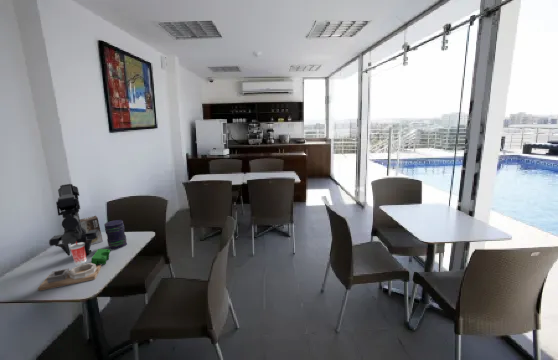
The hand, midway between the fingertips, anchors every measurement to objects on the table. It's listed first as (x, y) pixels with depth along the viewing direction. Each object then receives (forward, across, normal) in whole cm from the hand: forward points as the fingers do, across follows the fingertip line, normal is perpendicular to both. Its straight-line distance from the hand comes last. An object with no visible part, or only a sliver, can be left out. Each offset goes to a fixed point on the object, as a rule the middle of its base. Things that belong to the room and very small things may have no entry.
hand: (78, 253), depth 131 cm
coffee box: (+12, -7, +45) cm, 47 cm away
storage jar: (+12, +9, +32) cm, 35 cm away
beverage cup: (+5, 0, 0) cm, 5 cm away
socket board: (+12, -5, 0) cm, 13 cm away
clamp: (+12, +5, +12) cm, 18 cm away
